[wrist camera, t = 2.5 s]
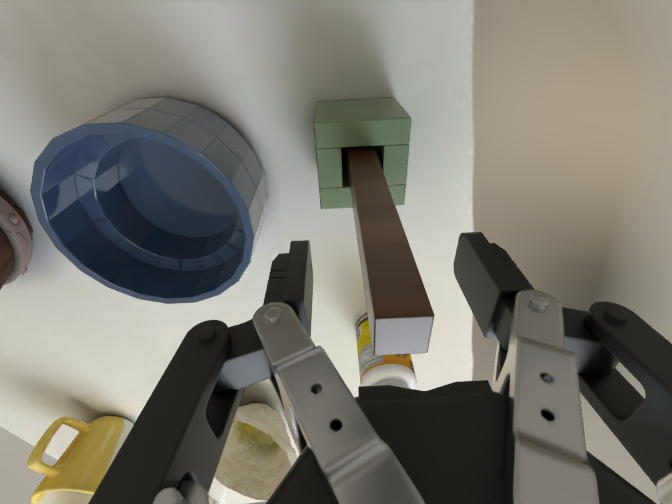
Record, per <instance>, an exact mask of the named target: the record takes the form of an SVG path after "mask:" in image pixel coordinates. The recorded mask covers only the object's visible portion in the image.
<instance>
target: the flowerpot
mask: <svg viewBox="0 0 672 504" xmlns="http://www.w3.org/2000/svg"><path fill="white" fill-rule="evenodd" d="M32 232H33V230H32V227H31V225H30V223H29V221H28V219H27V217H26V215H25V213H24V212H23V210H21V209H18V208H15V207H14V206H13V205H12V199H11V198H10V197H9V196H8V195H6V194H5V193H4V192H2V191H1V190H0V289H1V288H2V286H3V285H5V284H8V283H10V282H12V281H14V280H15V279H16V278H17V277H18V276H19V275H20V274H24V273H25V272H26V271H27V267H26V266H27V265H28V263H29V261H30V259H31V255H32V235H31V234H32Z"/></svg>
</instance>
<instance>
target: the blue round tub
mask: <svg viewBox="0 0 672 504" xmlns="http://www.w3.org/2000/svg"><path fill="white" fill-rule="evenodd" d="M30 191H31V195H32V199H33V203H34V206H35V210H36V213H37V217H38V220H39V222H40V224H41V225H42V227H43V228H44V230H45V231H46V233H47V234H48V236H49V237H50V239H51V240H52V242H53V243H54V245H55V247H57V249H58V250H59V251H60V252H61V253H62V254H63V255H64V256H66V257H67V258H68V259H69V260H70V261H71V262H72V263H73V264H74V265H75V266H76V267H77V268H78V269H79V270H81V271H82V272H84V273H85V274H87V275H89V276H90V277H92V278H93V279H95V280H97V281H98V282H100V283H102V284H103V285H105V286H107V287H108V288H111V289H113V290H116V291H119V292H121V293H124V294H127V295H129V296H132V297H135V298H138V299H142V300H148V301H154V302H160V303H166V304H173V303H194V302H198V301H201V300H204V299H208V298H211V297H214V296H217V295H220V294H221V293H222V292H224V291H225V290H227V289H228V288H229V287H231V286H232V285H234V284H235V283H236V282H238V281H239V279H240V278H241V276H242V275H243V273H244V271H245V270H246V268H247V267H248V265H249V264H250V262H251V259H252V256H253V252H254V249H255V246H256V242H257V239H258V236H259V232H260V229H261V226H262V222H263V219H264V215H265V210H266V204H267V198H268V192H267V187H266V181H265V175H264V171H263V169H262V167H261V165H260V163H259V161H258V159H257V157H256V156H255V154H254V152H253V150H252V148H251V146H250V145H249V144H248V143H247V142H246V141H245V140H244V139H243V138H242V137H241V136H240V135H239V134H238V133H237V132H236V130H235V129H234V128H233V127H232V126H231V125H230V124H228V122H226V121H225V120H223V119H221V118H220V117H218V116H216V115H215V114H213V113H211V112H210V111H208V110H206V109H205V108H203V107H201V106H199V105H195V104H191V103H188V102H184V101H180V100H177V99H173V98H167V97H166V98H148V99H138V100H134V101H132V102H130V103H128V104H126V105H124V106H121V107H119V108H117V109H115V110H113V111H111V112H109V113H106V114H104V115H102V116H100V117H98V118H96V119H93V120H91V121H89V122H87V123H85V124H83V125H80V126H78V127H76V128H74V129H72V130H70V131H68V132H65V133H63V134H61V135H59V136H57V137H55V138H53V139H52V140H51V141H50V142H49V144H48V145H47V146H46V148H45V149H44V150H43V152H42V153H41V154H40V156H39V157H38V158H37V159H36V161H35V163H34V169H33V176H32V183H31V190H30Z"/></svg>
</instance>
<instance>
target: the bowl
mask: <svg viewBox="0 0 672 504" xmlns="http://www.w3.org/2000/svg"><path fill="white" fill-rule="evenodd" d="M296 460H297V456H296V452H295V450H294V448H292V446H291V442H290V438H289V436H288V434H287V432H286V428H285V424H284V422H283V420H282V418H281V416H280V415H279V414H278V413H277V412H276V411H275V410H274V409H272V408H271V407H270V406H268V405H265V404H260V403H252V404H248V405H245V406H239V407H238V409H237V412H236V415H235V418H234V421H233V423H232V426H231V429H230V432H229V435H228V438H227V441H226V444H225V447H224V450H223V453H222V455H221V458H220V461H219V464H218V467H217V470H216V473H215V476H214V477H215V479H216V480H217V481H219V482H220V483H221V484H222V485H223V486H225V487H227V488H229V489H232V490H234V491H236V492H238V493H240V494H242V495H245V496H247V497H250V498H253V499H257V500H268V499H269V498H270V496H271V495H272V494H273V492H274V491H275V489H276V488H277V487H278V485H279V484H280V482H281V481H282V479H283V478H284V477H285V475H286V474H287V472H288V471H289V470H290V468H291V467H292V465H293V464H294V463H295V461H296Z"/></svg>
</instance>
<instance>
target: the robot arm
mask: <svg viewBox="0 0 672 504" xmlns="http://www.w3.org/2000/svg"><path fill="white" fill-rule="evenodd" d="M454 274H455V277H456V279H457V281H458V283H459V286H460V288H461V290H462V292H463V294H464V296H465V298H466V300H467V302H468V304H469V306H470V308H471V310H472V312H473V314H474V316H475V318H476V320H477V322H478V324H479V326H480V328H481V331H482V332H483V335H484V337H485V338H492V337H497V339H498V341H499V343H498V346H497V350H496V359H495V369H494V377H493V386H492V389H491V387H490V385H489V382H488V381H487V380H486V381H464V382H454V383H451V384H448V385H445V386H441V387H438V388H435V389H432V390H429V391H419V390H414V389H409V388H403V387H398V386H393V385H381V386H360V387H359V396H358V397H355V398H354V397H353V395H352V394H351V392H350V390H349V389H348V387H347V386H346V384H345V383H344V381H343V379H342V378H341V376H340V375H339V373H338V371H337V370H336V368H335V367H334V365H333V363H332V362H331V360H330V359H329V357H328V356H327V354H326V352H325V351H324V349H323V348H322V347H321V346H317V347H316V346H315V345H314V343H313V342H312V340H311V338H310V337H311V316H312V295H313V270H312V261H311V252H310V243H309V240H305V241H291V245H290V251H289V253H285V254H279V255H278V256H277V257H276V258H275V259H274V260H273V262H272V266H271V272H270V275H269V280H268V285H267V289H266V294H265V299H264V303H263V306H262V307H260V308H259V309H258V310H257V311H256V312H255V314H254V316H253V319H251V320H249V321H247V322H245V323H242V324H239V325H235V326H232V327H229V328H228V327H227V325H226V324H225V323H224V322H222V321H219V320H209V321H204V322H202V323H199V324H197V325H196V326H194V327H193V328H192V329H191V330H190V331H189V332H188V333H187V334H186V336H185V338H184V339H183V341H182V343H181V345H180V346H179V348H178V350H177V351H176V353H175V355H174V357H173V358H172V360H171V362H170V364H169V365H168V367H167V369H166V370H165V372H164V374H163V376H162V377H161V379H160V381H159V382H158V384H157V386H156V388H155V389H154V391H153V393H152V395H151V396H150V398H149V400H148V401H147V403H146V405H145V407H144V408H143V410H142V412H141V413H140V415H139V417H138V419H137V420H136V422H135V424H134V426H133V427H132V429H131V431H130V432H129V434H128V436H127V438H126V439H125V441H124V443H123V444H122V446H121V448H120V450H119V451H118V453H117V455H116V457H115V458H114V460H113V462H112V463H111V465H110V467H109V469H108V470H107V472H106V474H105V476H104V477H103V479H102V481H101V482H100V484H99V486H98V488H97V489H96V491H95V493H94V494H93V496H92V498H91V500H90V501H89V503H88V504H215V503H214V502H213V500H212V499H211V497H210V496H209V494H208V493H209V490H210V487H211V484H212V482H213V479H214V476H215V473H216V470H217V467H218V464H219V461H220V458H221V455H222V453H223V450H224V447H225V444H226V441H227V438H228V435H229V432H230V429H231V426H232V423H233V421H234V418H235V415H236V412H237V409H238V406H239V403H240V400H241V397H242V394H243V392H244V389H245V387H246V386H249V385H252V384H255V383H257V382H260V381H263V380H266V379H270V382H271V384H272V386H273V389H274V391H275V393H276V396H277V398H278V400H279V403H280V405H281V408H282V410H283V412H284V415H285V417H286V420H287V423H288V426H289V429H290V431H291V434H292V437H293V439H294V442H295V444H296V447H297V449H298V451H299V454H300V455H299V457H298V458H297V460H296V461H295V463H294V464H293V465H292V467H291V468H290V470H289V471H288V472H287V474H286V475H285V477H284V478H283V479H282V481H281V482H280V484H279V485H278V487H277V488H276V489H275V491H274V492H273V494H272V495H271V496H270V498H269V499H268V501H267V502H266V504H656V503H655V502H654V501H652V500H651V499H649V498H648V497H647V496H646V495H644V494H643V493H642V492H640V491H639V490H638V489H636V488H635V487H634V486H632V485H631V484H630V483H629V482H627V481H626V480H625V479H623V478H622V477H621V476H619V475H618V474H617V473H615V472H614V471H613V470H611V469H610V468H609V467H607V466H606V465H605V464H604V463H602V462H601V461H599V460H598V459H597V458H596V457H594V456H593V455H592V454H590V453H589V452H588V451H586V444H585V436H584V426H583V418H582V409H581V400H580V392H581V394H582V395H583V396H584V397H585V399H586V400H587V401H588V402H589V404H590V405H591V406H592V407H593V408H594V410H595V411H596V412H597V414H598V415H599V416H600V417H601V419H602V420H603V421H604V422H605V424H606V425H607V426H608V427H609V429H610V430H611V431H612V432H613V434H614V435H615V436H616V437H617V438H618V440H619V441H620V442H621V443H622V445H623V446H624V447H625V448H626V450H627V451H628V452H629V453H630V455H631V456H632V457H633V458H634V460H635V461H636V462H637V463H638V465H639V466H640V467H641V468H642V469H643V471H644V472H645V473H646V475H647V476H648V477H649V478H650V480H651V481H652V482H653V483H654V485H655V486H656V491H657V496H658V498H659V501H660V502H661V504H672V344H671V343H670V342H669V341H668V340H666V339H665V338H664V337H663V336H662V335H660V334H659V333H658V332H657V331H656V330H654V329H653V328H652V327H651V326H649V325H648V324H647V323H646V322H645V321H644V320H642V319H641V318H640V317H639V316H638V315H636V314H635V313H634V312H632V311H631V310H629V309H627V308H626V307H623V306H621V305H618V304H615V303H611V302H596V303H594V304H593V305H592V306H591V307H590V309H589V311H588V312H586V311H580V310H574V309H568V308H564V307H561V304H560V303H559V302H558V301H557V300H556V299H555V298H554V297H552V296H551V295H549V294H547V293H544V292H542V291H538V290H535V289H534V288H533V287H532V285H531V284H530V283H529V281H528V280H527V279H526V278H525V276H524V275H523V273H522V272H521V271H520V269H519V268H517V266H516V264H515V263H514V262H513V261H512V260H511V258H510V256H509V255H508V254H507V252H506V251H505V250H503V249H502V248H501V247H499V246H498V245H496V244H495V243H491V244H490V243H489V242H488V241H487V239H486V238H485V237H484V235H483V234H482V233H481V232H470V233H461V234H460V237H459V241H458V246H457V251H456V255H455V260H454ZM619 362H620V363H621V364H622V365H623V366H624V367H625V368H626V369H627V370H628V371H629V372H630V373H631V374H632V375H633V376H634V377H635V378H636V379H637V380H638V381H639V382H640V383H641V384H642V386H643V388H644V390H645V393H646V398H645V399H644V398H643V397H642V396H641V395H640V394H639V392H638V391H637V390H636V389H635V388H634V387H633V386H632V385H631V384H630V383H629V382H628V381H627V380H626V379H625V378H624V377H623V376H622V375H621V374H620V373H619V372H618V371H617V369H616V368H615V367H616V366H617V364H618V363H619Z"/></svg>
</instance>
